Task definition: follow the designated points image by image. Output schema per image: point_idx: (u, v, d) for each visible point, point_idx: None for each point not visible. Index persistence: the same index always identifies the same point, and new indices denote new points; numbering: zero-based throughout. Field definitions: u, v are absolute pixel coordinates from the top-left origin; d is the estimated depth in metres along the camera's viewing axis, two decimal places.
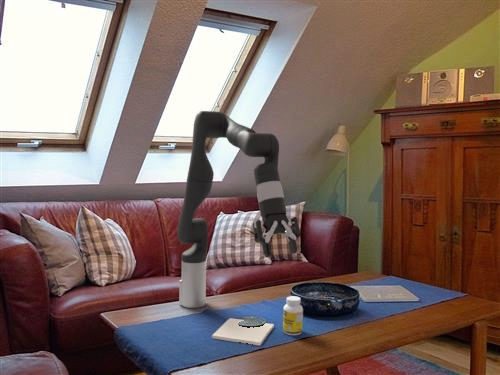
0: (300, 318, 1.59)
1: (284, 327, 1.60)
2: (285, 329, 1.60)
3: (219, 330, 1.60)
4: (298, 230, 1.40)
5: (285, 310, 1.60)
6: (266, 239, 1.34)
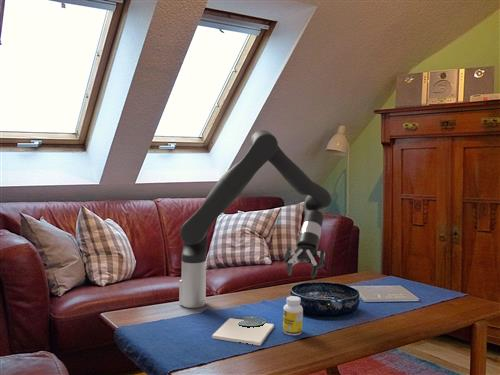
0: (300, 318, 1.59)
1: (284, 327, 1.60)
2: (285, 329, 1.60)
3: (219, 330, 1.60)
4: None
5: (285, 310, 1.60)
6: None
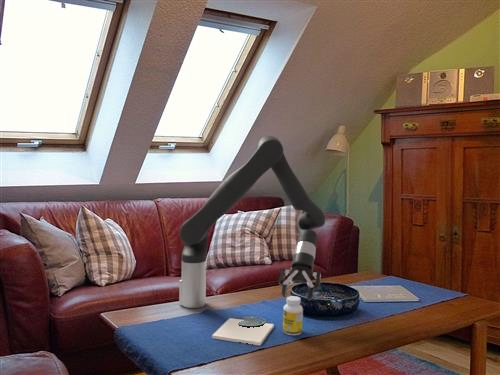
0: (300, 318, 1.59)
1: (284, 327, 1.60)
2: (285, 329, 1.60)
3: (219, 330, 1.60)
4: None
5: (285, 310, 1.60)
6: None
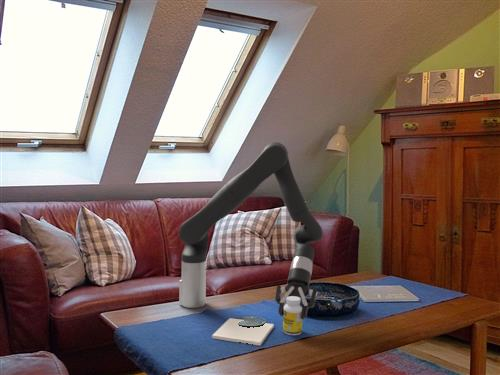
0: (300, 318, 1.59)
1: (284, 327, 1.60)
2: (285, 329, 1.60)
3: (219, 330, 1.60)
4: None
5: (285, 310, 1.60)
6: None
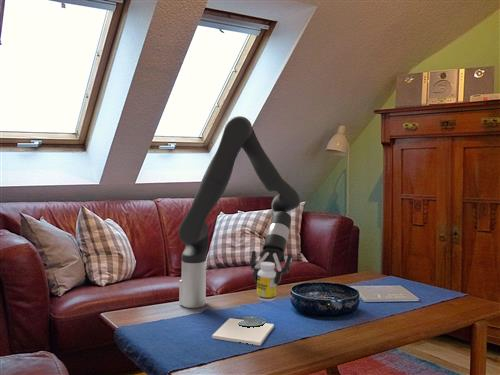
0: (274, 283, 1.58)
1: (258, 292, 1.59)
2: (258, 295, 1.59)
3: (219, 330, 1.60)
4: None
5: (259, 275, 1.58)
6: None
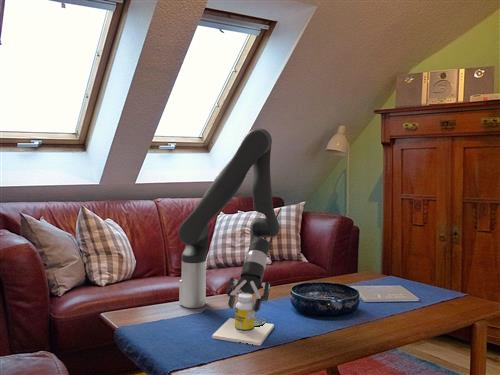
0: (251, 315, 1.58)
1: (236, 324, 1.60)
2: (236, 327, 1.59)
3: (219, 330, 1.60)
4: None
5: (236, 307, 1.59)
6: None
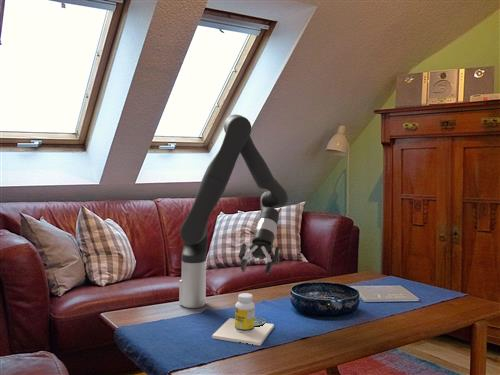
0: (251, 315, 1.58)
1: (236, 324, 1.60)
2: (236, 327, 1.59)
3: (219, 330, 1.60)
4: None
5: (236, 307, 1.59)
6: None
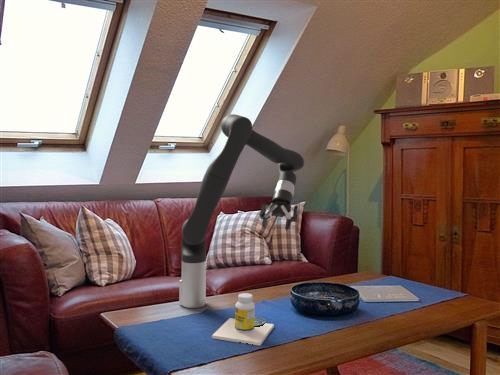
0: (251, 315, 1.58)
1: (236, 324, 1.60)
2: (236, 327, 1.59)
3: (219, 330, 1.60)
4: None
5: (236, 307, 1.59)
6: None
